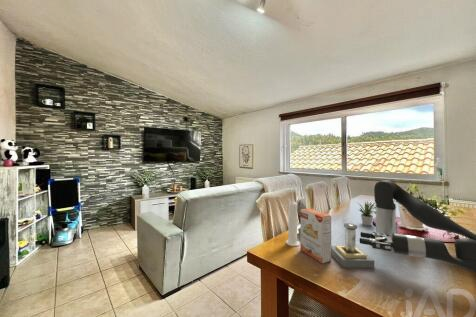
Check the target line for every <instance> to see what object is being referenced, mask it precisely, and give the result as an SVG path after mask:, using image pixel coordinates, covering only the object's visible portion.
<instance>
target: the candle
mask: <svg viewBox="0 0 476 317" xmlns="http://www.w3.org/2000/svg"><path fill="white" fill-rule="evenodd" d="M297 234H298V203H297V202H295V199H294V197H292V198H291V201H290V202H288V239H287V240H286V241H285V243H286V245H288V246H290V247H298V246H300V241H298V237H297Z"/></svg>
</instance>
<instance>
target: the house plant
mask: <svg viewBox="0 0 476 317" xmlns="http://www.w3.org/2000/svg"><path fill="white" fill-rule="evenodd" d="M357 204H358V205H359V206H360V207H359V209H358V212H361V214H360V217H361V222H362V225H365V226H372V224H373V220H374V219H373V218H374V216H373V214H374V213H376V210H374V209H376V203H372V204H371V205H369V201H365V202H364V207H363V206H362V205H361V204H360V203H359V202H357Z"/></svg>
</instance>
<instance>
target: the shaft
mask: <svg viewBox="0 0 476 317" xmlns="http://www.w3.org/2000/svg"><path fill="white" fill-rule="evenodd" d="M343 227H344V230H345V235H344V236H345V238H344V239H345V242H344V243H345V245H344V246H345V252H346V253H355V247H357V246H356V239H357V238H356V235H357V234H356V230H357V229H358V225H357V224H354V223H351V222H344V223H343Z"/></svg>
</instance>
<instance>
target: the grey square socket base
mask: <svg viewBox="0 0 476 317" xmlns="http://www.w3.org/2000/svg"><path fill="white" fill-rule="evenodd" d="M331 257H333V258H334V259H335V260H336V261H337V262H338V263H339V264H340V265H341V267H343V268H371V269H372V268H373V269H374V268H375V260H374V259H373V258H372V257H370V256H369V255H368V254H366V253H365V251H363V250H361V249H360V248H359V247H357V246H355V253H346V252H345V245H335V246H334V245H333V246H332V245H331Z"/></svg>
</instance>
